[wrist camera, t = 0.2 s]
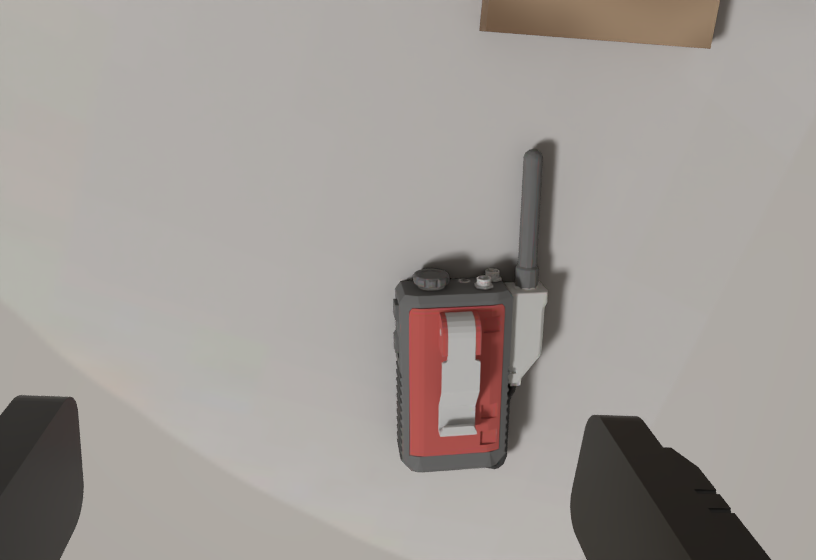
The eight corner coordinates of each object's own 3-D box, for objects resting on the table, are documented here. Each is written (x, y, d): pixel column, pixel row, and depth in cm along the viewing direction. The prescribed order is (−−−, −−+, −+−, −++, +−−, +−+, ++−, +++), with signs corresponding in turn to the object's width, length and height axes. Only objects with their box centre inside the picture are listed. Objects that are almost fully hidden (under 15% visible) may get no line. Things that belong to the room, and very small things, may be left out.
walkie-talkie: (527, 451, 47) (545, 144, 40) (547, 493, 43) (572, 158, 36) (393, 461, 46) (389, 148, 39) (401, 504, 42) (397, 163, 35)
